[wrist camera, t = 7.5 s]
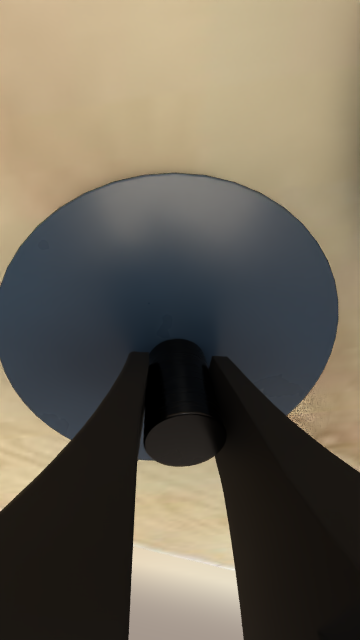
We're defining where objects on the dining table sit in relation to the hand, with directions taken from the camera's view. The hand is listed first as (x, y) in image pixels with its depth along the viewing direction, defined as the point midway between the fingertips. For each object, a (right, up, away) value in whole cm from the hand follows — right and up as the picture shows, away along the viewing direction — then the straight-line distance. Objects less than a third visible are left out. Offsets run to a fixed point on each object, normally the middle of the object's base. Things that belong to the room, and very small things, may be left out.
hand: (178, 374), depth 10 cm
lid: (0, +1, +1) cm, 1 cm away
